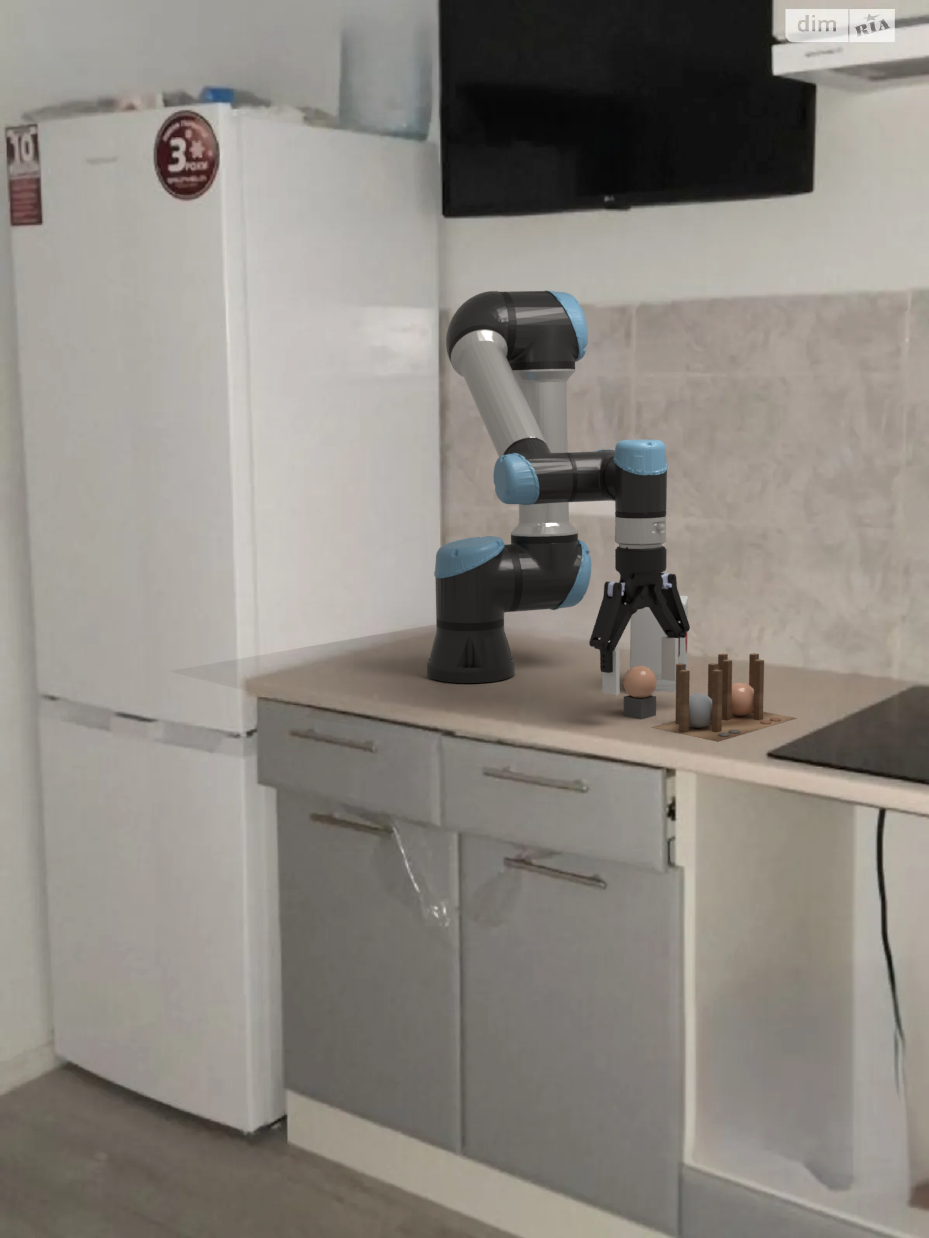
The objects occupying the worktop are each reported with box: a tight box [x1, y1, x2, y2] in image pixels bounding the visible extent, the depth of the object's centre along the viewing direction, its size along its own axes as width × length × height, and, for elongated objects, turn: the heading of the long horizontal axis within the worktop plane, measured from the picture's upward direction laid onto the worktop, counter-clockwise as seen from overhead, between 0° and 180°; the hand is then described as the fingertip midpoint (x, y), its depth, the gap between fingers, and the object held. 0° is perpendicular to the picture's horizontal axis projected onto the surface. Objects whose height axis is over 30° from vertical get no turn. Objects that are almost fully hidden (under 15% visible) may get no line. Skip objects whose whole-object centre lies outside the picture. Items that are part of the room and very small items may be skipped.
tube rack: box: [651, 652, 798, 743], centre depth 223 cm, size 12×19×10 cm, turn 133°
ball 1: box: [689, 692, 712, 728], centre depth 220 cm, size 5×5×5 cm
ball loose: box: [622, 665, 657, 699], centre depth 228 cm, size 5×5×5 cm
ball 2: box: [731, 682, 754, 716], centre depth 227 cm, size 5×5×5 cm
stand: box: [623, 694, 657, 720], centre depth 228 cm, size 3×3×4 cm
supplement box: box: [629, 595, 689, 693], centre depth 248 cm, size 9×9×15 cm
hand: (640, 686), depth 227 cm, fingers open, 13 cm apart
